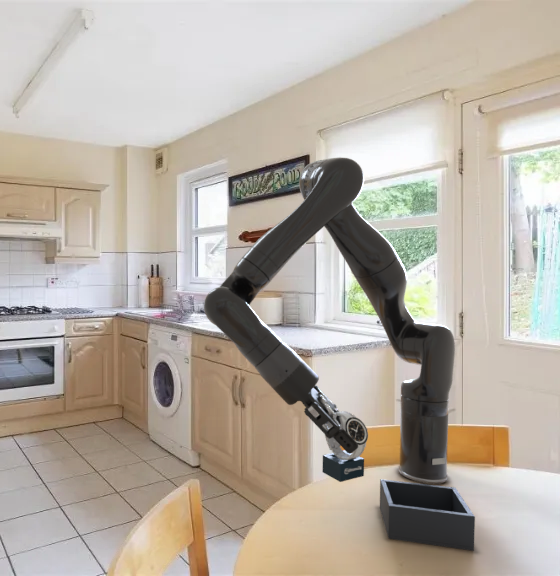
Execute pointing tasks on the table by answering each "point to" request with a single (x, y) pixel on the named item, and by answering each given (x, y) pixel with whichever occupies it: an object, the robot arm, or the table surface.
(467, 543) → the box
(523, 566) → the table surface
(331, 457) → the watch
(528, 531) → the table surface
